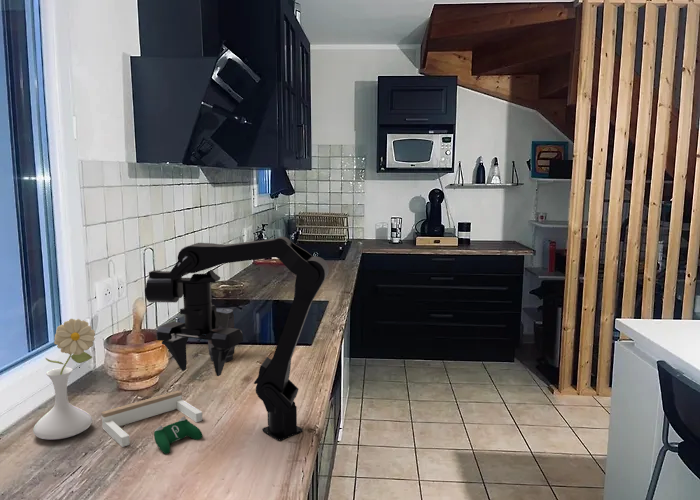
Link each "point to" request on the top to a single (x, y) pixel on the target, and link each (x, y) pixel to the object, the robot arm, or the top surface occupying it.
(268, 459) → the top surface
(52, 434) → the flower in vase
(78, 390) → the top surface
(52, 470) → the top surface
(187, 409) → the frame
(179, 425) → the gaming controller
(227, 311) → the dark grey cylinder
